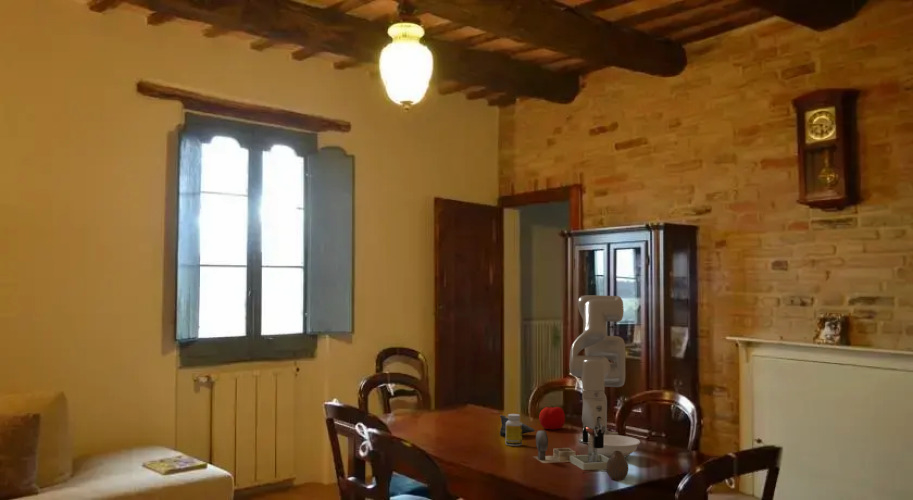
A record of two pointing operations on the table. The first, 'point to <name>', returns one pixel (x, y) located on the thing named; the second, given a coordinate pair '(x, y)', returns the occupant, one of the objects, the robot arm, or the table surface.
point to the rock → (503, 429)
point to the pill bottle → (513, 430)
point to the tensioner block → (558, 453)
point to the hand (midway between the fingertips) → (592, 445)
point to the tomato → (552, 417)
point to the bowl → (618, 445)
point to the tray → (580, 460)
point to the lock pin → (591, 446)
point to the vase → (617, 466)
